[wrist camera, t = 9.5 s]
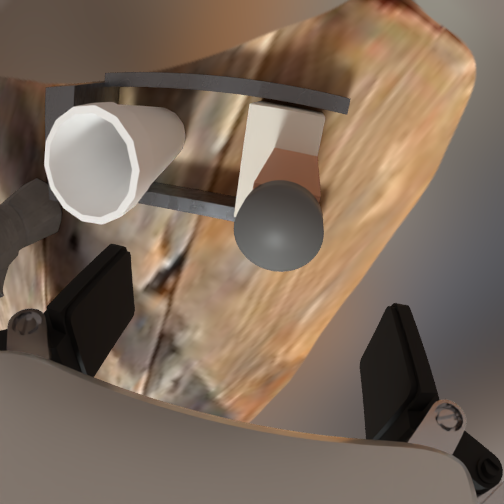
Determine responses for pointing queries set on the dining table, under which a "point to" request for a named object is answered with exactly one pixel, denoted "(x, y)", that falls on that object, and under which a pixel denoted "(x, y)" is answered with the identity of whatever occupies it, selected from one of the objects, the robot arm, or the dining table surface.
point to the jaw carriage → (280, 187)
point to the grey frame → (108, 90)
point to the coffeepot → (26, 221)
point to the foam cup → (109, 156)
